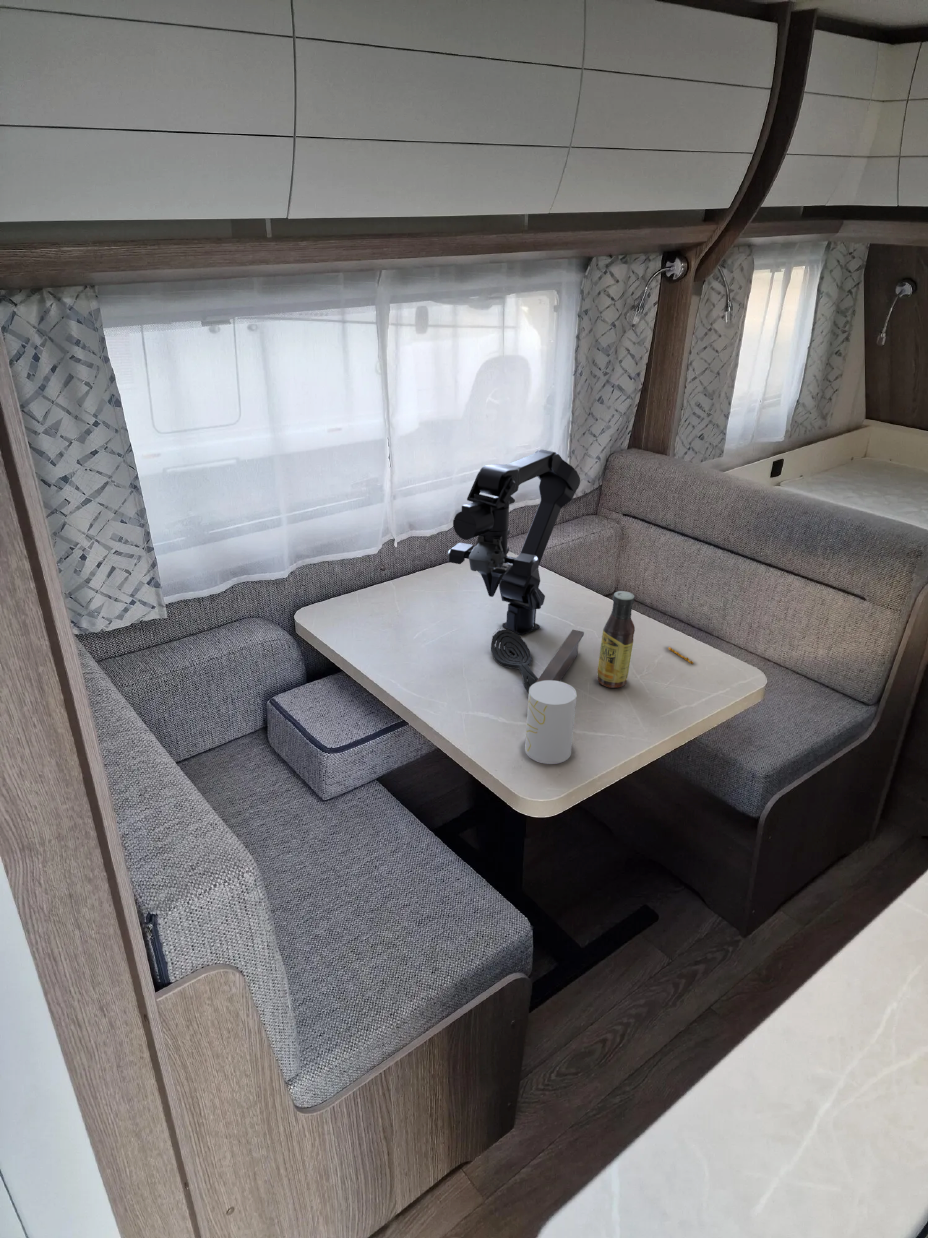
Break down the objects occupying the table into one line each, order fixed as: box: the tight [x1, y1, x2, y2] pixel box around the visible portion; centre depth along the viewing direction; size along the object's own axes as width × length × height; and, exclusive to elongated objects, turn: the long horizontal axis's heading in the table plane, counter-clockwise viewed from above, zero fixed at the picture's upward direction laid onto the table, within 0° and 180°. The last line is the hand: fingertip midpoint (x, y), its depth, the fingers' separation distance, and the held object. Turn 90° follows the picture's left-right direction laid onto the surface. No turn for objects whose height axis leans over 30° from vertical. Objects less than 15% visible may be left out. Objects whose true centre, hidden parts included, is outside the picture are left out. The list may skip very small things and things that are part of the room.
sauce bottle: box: [596, 590, 636, 689], centre depth 163 cm, size 6×6×20 cm
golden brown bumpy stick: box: [668, 646, 694, 665], centre depth 178 cm, size 8×1×1 cm, turn 27°
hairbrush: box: [490, 626, 539, 695], centre depth 171 cm, size 8×4×25 cm
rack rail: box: [536, 629, 585, 683], centre depth 165 cm, size 28×3×6 cm, turn 157°
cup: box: [524, 680, 578, 765], centre depth 142 cm, size 8×8×12 cm
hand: (491, 596), depth 176 cm, fingers closed
